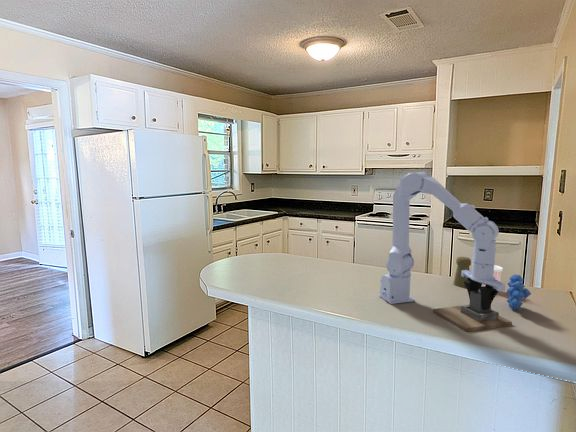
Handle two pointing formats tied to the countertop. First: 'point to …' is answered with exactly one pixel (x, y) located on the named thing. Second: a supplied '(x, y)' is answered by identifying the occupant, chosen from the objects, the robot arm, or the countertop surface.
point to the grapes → (516, 292)
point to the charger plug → (477, 302)
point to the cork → (462, 264)
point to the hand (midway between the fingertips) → (479, 306)
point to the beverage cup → (497, 272)
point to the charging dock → (471, 318)
